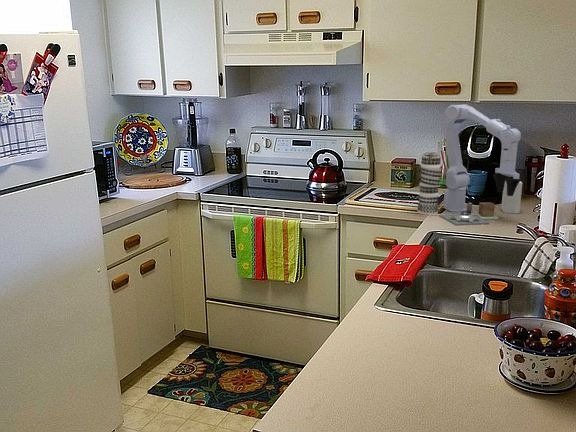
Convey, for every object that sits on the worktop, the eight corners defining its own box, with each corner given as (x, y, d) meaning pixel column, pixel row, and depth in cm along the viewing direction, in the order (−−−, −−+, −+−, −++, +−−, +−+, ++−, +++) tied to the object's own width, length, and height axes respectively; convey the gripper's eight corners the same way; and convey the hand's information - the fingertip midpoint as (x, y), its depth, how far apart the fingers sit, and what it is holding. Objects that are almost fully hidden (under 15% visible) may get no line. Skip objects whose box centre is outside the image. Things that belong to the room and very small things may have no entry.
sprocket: (443, 218, 242) (444, 205, 241) (455, 212, 252) (456, 200, 250) (473, 223, 235) (475, 209, 234) (485, 217, 245) (486, 204, 243)
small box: (519, 213, 256) (522, 182, 253) (503, 212, 257) (506, 182, 254) (516, 209, 263) (519, 179, 260) (500, 208, 265) (503, 178, 261)
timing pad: (472, 215, 252) (472, 213, 252) (488, 214, 253) (488, 212, 253) (482, 219, 244) (482, 218, 244) (498, 219, 246) (498, 217, 246)
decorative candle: (418, 209, 262) (421, 150, 256) (440, 211, 259) (444, 152, 253) (414, 213, 254) (418, 153, 248) (437, 215, 250) (441, 154, 245)
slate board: (439, 216, 250) (439, 214, 250) (471, 214, 252) (471, 213, 252) (455, 225, 236) (456, 223, 235) (489, 223, 238) (489, 222, 238)
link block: (478, 214, 250) (479, 202, 249) (489, 214, 251) (490, 202, 250) (482, 216, 247) (483, 204, 245) (493, 216, 248) (495, 203, 246)
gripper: (489, 157, 246) (486, 190, 249) (508, 162, 232) (505, 197, 235) (505, 157, 247) (502, 190, 251) (525, 162, 234) (522, 197, 237)
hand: (505, 193), depth 243 cm, fingers open, 7 cm apart
